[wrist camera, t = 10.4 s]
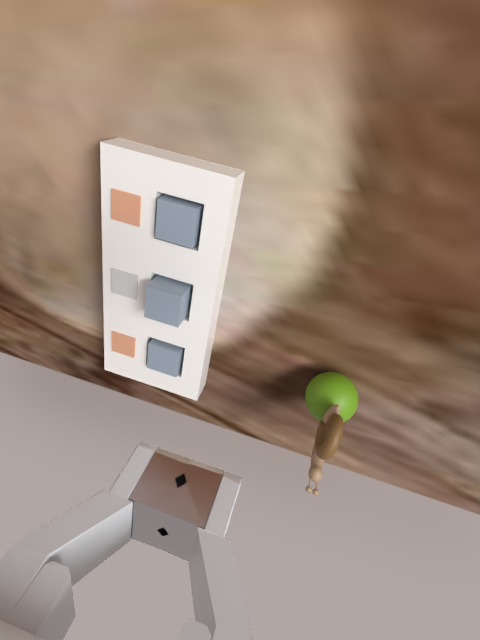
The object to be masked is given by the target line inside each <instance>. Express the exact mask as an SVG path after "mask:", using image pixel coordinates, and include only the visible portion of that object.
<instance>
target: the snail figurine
mask: <svg viewBox="0 0 480 640" xmlns="http://www.w3.org/2000/svg"><path fill="white" fill-rule="evenodd" d="M305 400H306V405H307V408H308V410H309V411H310V413H311V414H312V415H313V416H314V417H315V418H316V419H317V420H319V421H320V423H319V426H318V429H317V434H316V439H315V443H314V447H313V451H312V457H311V467H310V469H309V478H310V480H312V481H314V482H316V488H317V482H318V481H319V480H320V479H321V477H322V466H323V463H324V460H328V459H330V458H331V457H332V456H333V455H334V454H335V452H336V450H337V448H338V446H339V444H340V441H341V438H342V434H343V426H344V422H345V421H347V420H348V419H350V418H351V417H352V416H353V414H354V413H355V411H356V409H357V406H358V393H357V390H356V387H355V385H354V384H353V383H352V381H351V380H350V379H349V378H347V377H346V376H344V375H343V374H340V373H337V372H324V373H321V374H319V375H317V376H316V377H314V378H313V379H312V380H311V381H310V383H309V384H308V386H307V389H306V394H305ZM310 480H309V486H307V487H306V491H307V492H311V491H312V488H311V487H310ZM318 493H319V491H318V489H314V490H313V494H314V495H318Z"/></svg>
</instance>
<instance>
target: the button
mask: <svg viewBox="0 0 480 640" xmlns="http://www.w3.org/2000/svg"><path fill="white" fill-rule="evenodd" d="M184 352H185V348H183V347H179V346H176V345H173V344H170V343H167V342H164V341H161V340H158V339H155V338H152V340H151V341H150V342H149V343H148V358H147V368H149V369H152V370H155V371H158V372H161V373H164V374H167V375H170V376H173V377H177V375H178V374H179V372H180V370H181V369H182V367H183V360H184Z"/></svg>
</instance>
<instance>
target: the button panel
mask: <svg viewBox="0 0 480 640" xmlns="http://www.w3.org/2000/svg"><path fill="white" fill-rule="evenodd" d="M100 162H101V213H102V264H103V314H104V365H105V370H107V371H110V372H113V373H116V374H119V375H122V376H125V377H128V378H131V379H134V380H137V381H140V382H143V383H146V384H149V385H152V386H155V387H158V388H161V389H164V390H167V391H170V392H173V393H176V394H178V395H181V396H184V397H187V398H190V399H193V400H196V401H197V400H198V398H199V396H200V394H201V392H202V390H203V388H204V386H205V383H206V377H207V372H208V367H209V361H210V356H211V350H212V345H213V340H214V334H215V329H216V324H217V318H218V313H219V307H220V302H221V297H222V291H223V286H224V281H225V275H226V270H227V264H228V259H229V254H230V248H231V243H232V238H233V232H234V227H235V221H236V216H237V211H238V205H239V200H240V195H241V189H242V184H243V178H244V173H245V171H244V170H240V169H237V168H233V167H229V166H225V165H221V164H218V163H214V162H210V161H206V160H202V159H199V158H195V157H191V156H187V155H183V154H180V153H176V152H172V151H168V150H164V149H161V148H157V147H153V146H149V145H145V144H142V143H138V142H134V141H130V140H126V139H123V138H119V137H118V138H114V139H110V140H106V141H102V142H100ZM164 194H168V195H172V196H176V197H179V198H183V199H186V200H190V201H194V202H197V203H201V204H204V211H203V219H202V226H201V234H200V241H199V242H198V243H197V244H196V245H195V246H194V247H193V248H189V247H186V246H182V245H179V244H176V243H172V242H169V241H165V240H162V239H158V238H155V230H156V214H157V199H158V198H159V197H161V196H163V195H164ZM158 274H159V275H162V276H165V277H168V278H172V279H175V280H178V281H182V282H185V283H188V284H192V285H193V293H192V300H191V305H190V312H189V313H188V315H187V316H186V317H185V319H184V320H183V321H182V323H181V324H180V325H179V327H178V328H177V327H174V326H171V325H168V324H165V323H162V322H158V321H155V320H152V319H149V318H146V317H144V312H145V293H146V285H147V284H148V283H150V282H151V281H152V280H153V279H154V278H155V277H156V276H157V275H158ZM152 338H155V339H158V340H161V341H164V342H167V343H170V344H173V345H176V346H179V347H183V348H185V352H184V360H183V367H182V369H181V370H180V372H179V374H178V375H177V377H173V376H170V375H167V374H164V373H161V372H158V371H155V370H152V369H149V368H147V358H148V343H149V342H150V341H151V340H152Z"/></svg>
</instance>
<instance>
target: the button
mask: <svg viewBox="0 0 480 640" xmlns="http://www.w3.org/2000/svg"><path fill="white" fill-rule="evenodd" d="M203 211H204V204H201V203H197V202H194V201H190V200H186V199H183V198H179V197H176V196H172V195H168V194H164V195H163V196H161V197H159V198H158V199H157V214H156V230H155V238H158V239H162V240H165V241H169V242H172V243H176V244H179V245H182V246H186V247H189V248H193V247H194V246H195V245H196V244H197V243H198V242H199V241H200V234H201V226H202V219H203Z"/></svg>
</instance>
